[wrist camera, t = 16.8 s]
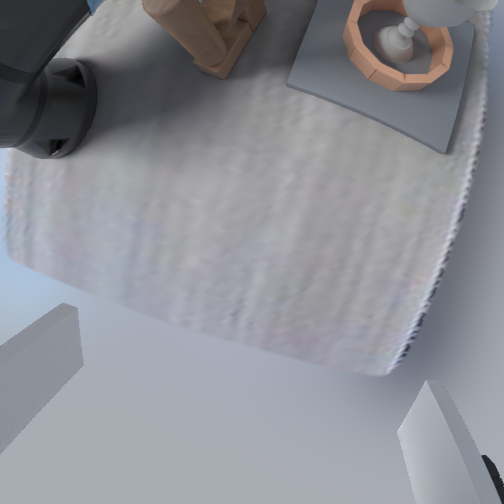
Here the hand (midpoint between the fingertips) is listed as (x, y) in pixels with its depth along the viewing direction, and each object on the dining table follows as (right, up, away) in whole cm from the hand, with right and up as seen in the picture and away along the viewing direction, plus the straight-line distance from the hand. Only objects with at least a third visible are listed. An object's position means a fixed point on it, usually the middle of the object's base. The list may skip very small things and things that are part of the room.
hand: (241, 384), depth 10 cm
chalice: (+17, +29, +18) cm, 38 cm away
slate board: (+17, +29, +20) cm, 39 cm away
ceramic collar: (+17, +29, +18) cm, 38 cm away
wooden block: (-2, +30, +22) cm, 37 cm away
